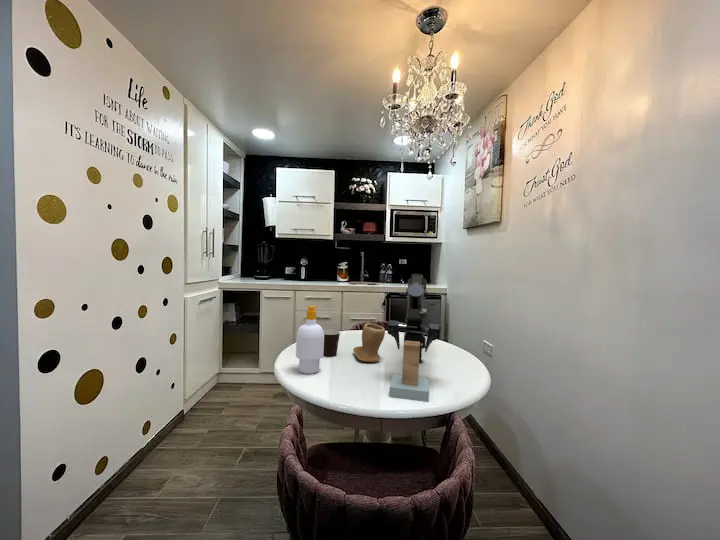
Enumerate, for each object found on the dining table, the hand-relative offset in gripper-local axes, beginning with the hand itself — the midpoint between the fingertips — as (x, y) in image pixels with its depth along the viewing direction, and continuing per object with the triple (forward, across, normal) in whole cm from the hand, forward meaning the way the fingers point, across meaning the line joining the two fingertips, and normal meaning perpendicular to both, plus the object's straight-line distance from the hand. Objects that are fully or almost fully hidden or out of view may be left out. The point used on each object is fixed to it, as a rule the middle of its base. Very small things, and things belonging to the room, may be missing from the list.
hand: (412, 350), depth 112 cm
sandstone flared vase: (-9, -19, +26) cm, 34 cm away
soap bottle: (+7, -38, +10) cm, 40 cm away
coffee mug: (-9, -36, +27) cm, 46 cm away
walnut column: (+10, 0, +2) cm, 11 cm away
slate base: (+13, 0, +4) cm, 13 cm away
